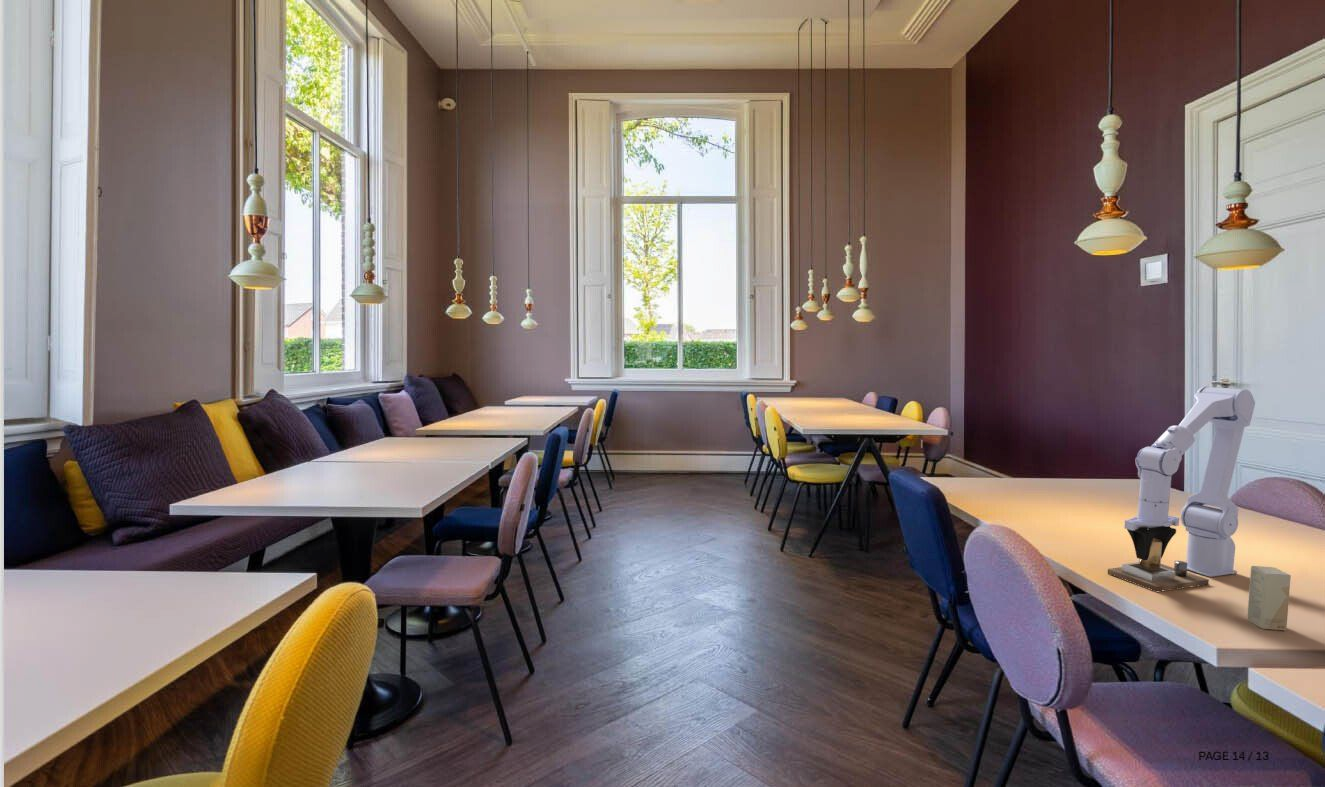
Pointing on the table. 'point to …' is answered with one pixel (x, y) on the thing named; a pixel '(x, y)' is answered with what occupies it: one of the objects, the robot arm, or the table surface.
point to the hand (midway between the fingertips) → (1149, 558)
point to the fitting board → (1159, 576)
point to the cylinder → (1153, 555)
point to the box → (1268, 597)
